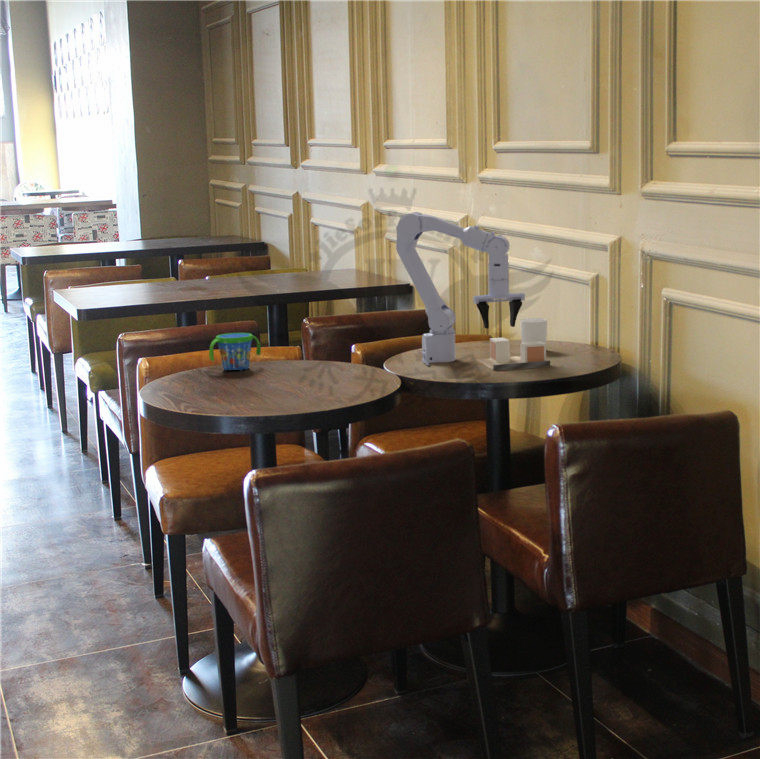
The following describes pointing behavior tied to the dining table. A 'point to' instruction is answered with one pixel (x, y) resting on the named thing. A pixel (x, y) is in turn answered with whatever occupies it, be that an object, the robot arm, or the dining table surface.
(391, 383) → the dining table surface
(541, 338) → the white cup
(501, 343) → the carton
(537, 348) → the faced carton
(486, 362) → the shelf board
